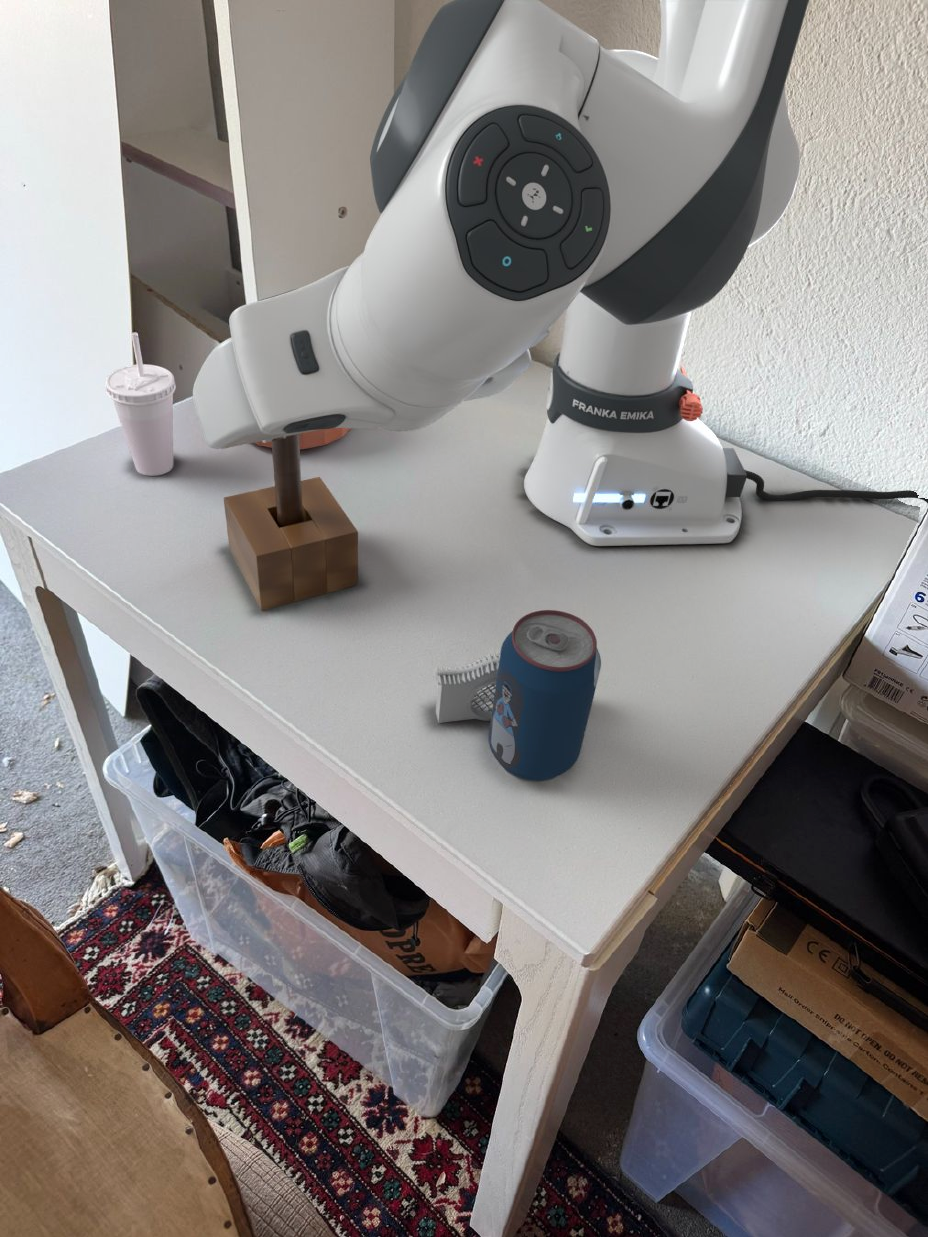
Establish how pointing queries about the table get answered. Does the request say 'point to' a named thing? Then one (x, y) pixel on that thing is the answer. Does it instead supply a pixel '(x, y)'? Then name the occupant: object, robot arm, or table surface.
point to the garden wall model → (466, 690)
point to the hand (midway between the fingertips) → (336, 416)
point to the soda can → (543, 695)
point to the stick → (287, 480)
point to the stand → (292, 545)
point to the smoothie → (145, 412)
